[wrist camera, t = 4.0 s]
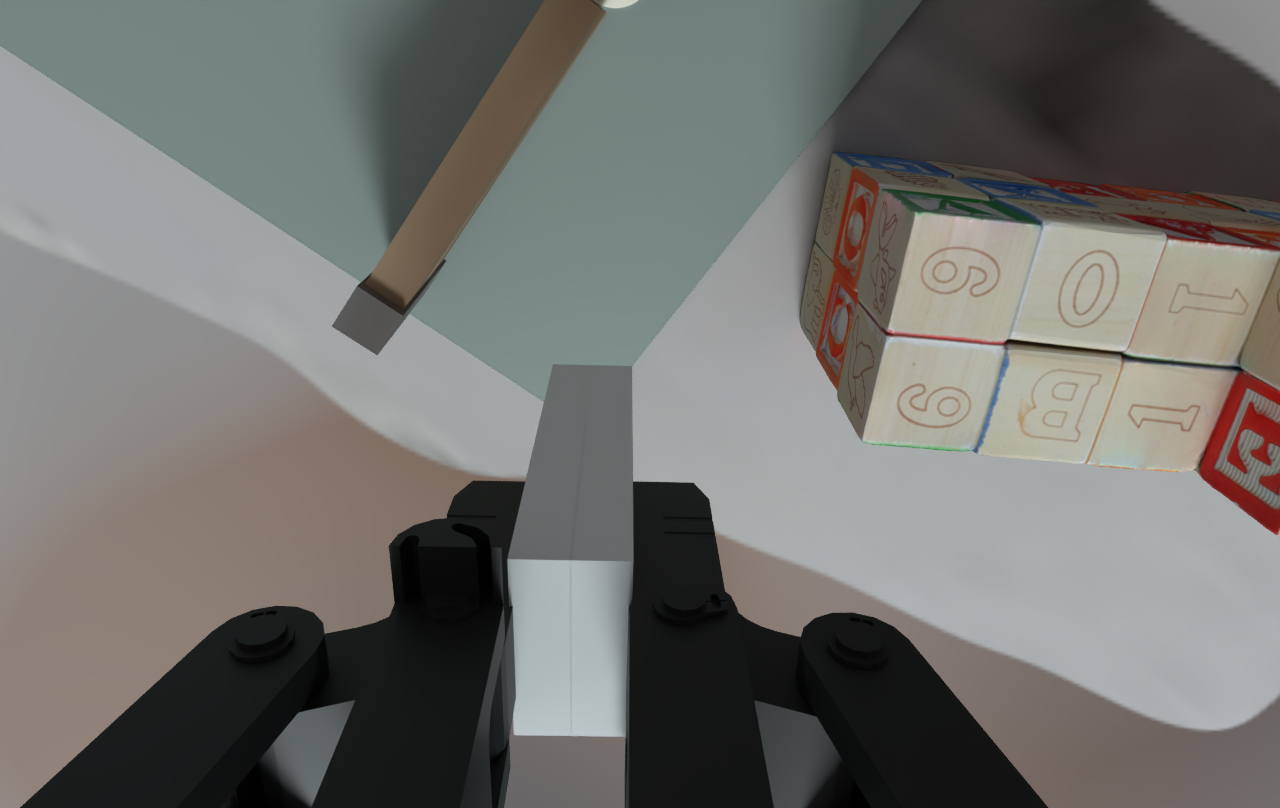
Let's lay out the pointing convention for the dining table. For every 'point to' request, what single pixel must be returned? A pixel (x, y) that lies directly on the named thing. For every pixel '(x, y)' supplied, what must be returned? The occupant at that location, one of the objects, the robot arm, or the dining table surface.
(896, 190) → the stack of blocks
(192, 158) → the board
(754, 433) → the dining table surface
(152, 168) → the dining table surface
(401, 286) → the fence gate
